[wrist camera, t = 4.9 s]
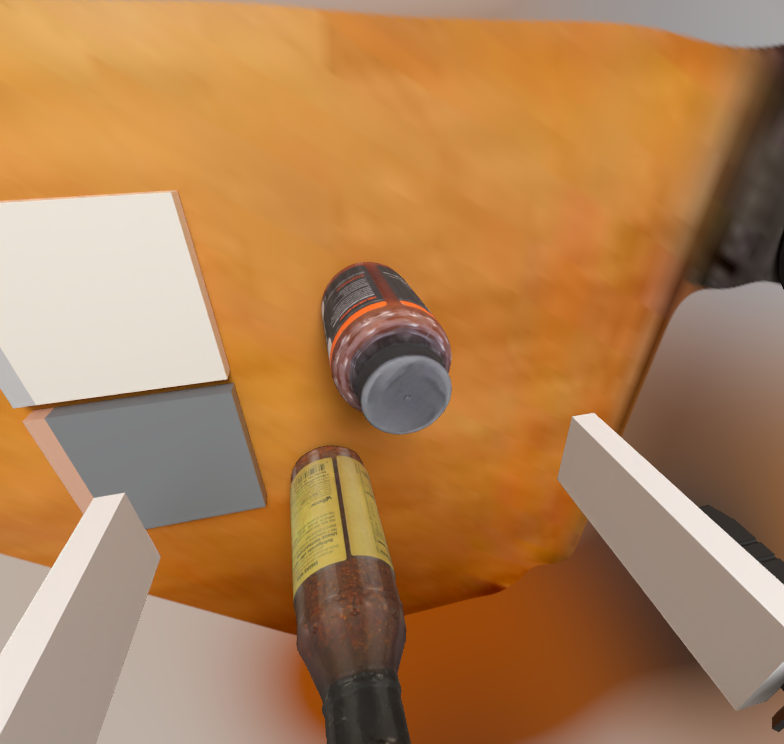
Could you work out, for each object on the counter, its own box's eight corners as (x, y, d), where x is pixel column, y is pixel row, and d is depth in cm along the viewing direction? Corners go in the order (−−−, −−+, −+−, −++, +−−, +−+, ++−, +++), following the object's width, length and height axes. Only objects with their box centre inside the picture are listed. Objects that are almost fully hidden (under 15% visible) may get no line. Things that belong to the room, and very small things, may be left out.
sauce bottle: (288, 498, 33) (277, 868, 16) (292, 440, 30) (285, 816, 13) (364, 496, 34) (427, 828, 18) (375, 440, 32) (463, 774, 15)
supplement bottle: (306, 325, 26) (310, 432, 16) (344, 242, 23) (376, 307, 14) (384, 357, 28) (429, 466, 18) (425, 283, 26) (500, 363, 16)
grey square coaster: (233, 382, 26) (231, 392, 25) (266, 495, 32) (265, 506, 31) (33, 410, 25) (22, 421, 24) (105, 524, 30) (99, 537, 29)
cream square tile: (177, 190, 20) (170, 192, 19) (230, 370, 26) (227, 379, 25) (-95, 206, 19) (-118, 210, 17) (25, 397, 24) (13, 408, 23)
